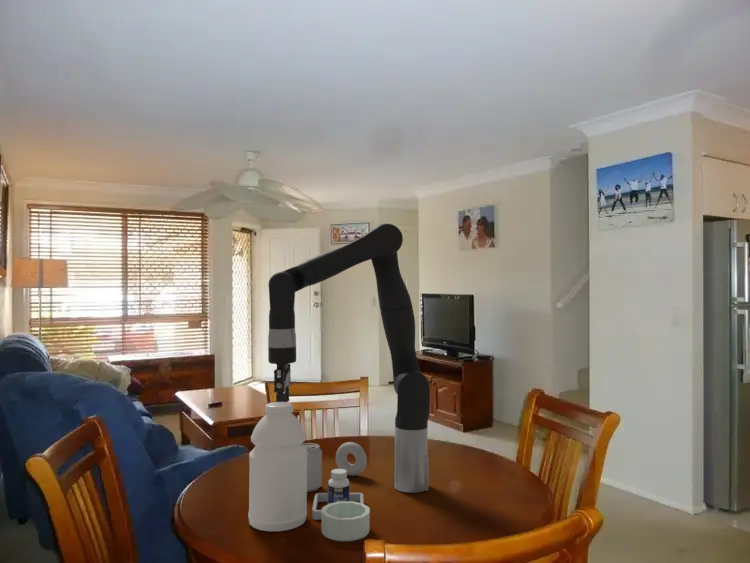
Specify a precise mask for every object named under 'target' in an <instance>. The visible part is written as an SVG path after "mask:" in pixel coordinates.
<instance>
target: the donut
mask: <svg viewBox="0 0 750 563" xmlns="http://www.w3.org/2000/svg"><path fill="white" fill-rule="evenodd" d="M335 453H336V454H335V463H336V465H337V469H344V470H346V471H347V476H352V477H353V476H357V475H360V474H362V472H364V470H365V468H366V466H367V462H368V461H367V459H368V458H367V454H366V451H365V450H364V448H363V447H362V446H361V445H360V444H358V443H357V442H353V441H350V442H349V441H347V442H344V443H342V444H341V445H340V446H339V447H338V449H337V451H336V452H335ZM349 454H351V455H353V456H354V458H355V461H354V463H350V462H349V461H348V458H347V456H348V455H349Z"/></svg>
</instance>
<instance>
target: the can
mask: <svg viewBox="0 0 750 563" xmlns="http://www.w3.org/2000/svg"><path fill="white" fill-rule="evenodd" d="M302 446H303V447H304V448H305V449H306V450H307V452H308V457H307V493H309V492H310V493H311V492H314V491H317V490H319V488H320V487H322V478H323V477H322V473H323V472H322V471H323V470H322V469H323V468H322V466H323V465H322V463H323V460H322V458H323V451H322V449H321V448H320V445H319V444H317V443H314V442H306V443H305V442H303V443H302Z"/></svg>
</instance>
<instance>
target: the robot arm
mask: <svg viewBox="0 0 750 563" xmlns="http://www.w3.org/2000/svg"><path fill="white" fill-rule="evenodd" d="M403 240H404V236H403V233H402V231H401V230H400V229H399V227H398V226H396V225H394V224H391V223H381V224H378V225H376V226H374V227H373V228H372V229H371V230H370V231H369V232H368V233H366V234H365V235H363V236H362V237H359V238H358V239H356V240H353V241H351V242H350V243H347V244H344V245H342V246H340V247H337V248H334V249H332V250H328V251H326V252H323V253H321V254H318V255H316V256H314V257H311V258H309V259H307V260H305V261H302V262H301V263H299V264H298V265H295V266H292V267H290V268H287V269H284V270H282V271H278V272H275V273H274V274H273V275H272V276H270V278H269V280H268V296H269V297H268V298H269V312H268V313H269V314H268V328H269V329H268V338H267V343H268V344H267V349H268V350H267V351H268V353H267V354H268V355H267V356H268V358H267V359H268V363H269V364H271V365H273V364H274V365H276V369H274V371H273V373H274V375H273V379H274V380H273V392H274V393H275V402H289V401H290V387H291V383H292V381H291V377H292V376H291V373H292V371H291V370H292V369H291V364H293V363H294V364H295V363H296V362H297V333H296V314H295V300H296V299H295V298H296V293H297V292H299V291H301V290H303V289H305V288H306V287H307V288H308V287H310V286H314V285H316V284H317V285H318V283H321V282H323V281H326V280H328V279H330V278H333V277H334V276H336V275H339V274H341V273H342V272H344V271H346V270H348V269H351V268H353V267H354V266H357V265H359V264H361V263H364V262H366V261H370V260H371V263H372V268H373V270H374V275H375V280H376V291H377V296H378V304H379V311H380V316H381V321H382V326H383V331H384V334H385V339H386V341H387V344H388V349H389V353H390V358H391V365H392V366H391V367H392V378H393V380H392V382H393V388H394V392H395V393H396V395H397V396H396V397H397V400H396V401H397V402H396V403H397V406H396V415H395V416H394V489H395V490H396V491H399V492H402V493H408V494H409V493H410V494H411V493H412V494H415V493H421V492H428V491H429V458H430V457H429V455H428V433H429V432H428V427H429V426H428V425H429V418H430V413H431V412H430V408H431V386H430V382H429V379H428V378H427V377H426V375H424V373H422V371H421V368H420V364H419V362H418V357H417V354H416V319H415V313H414V308H413V302H412V299H411V295H410V293H409V289H408V288H407V286H406V284H405V281H404V279H403V276H402V273H401V270H400V266H399V256H398V252H399V250H400V249H401V247H402V244H403Z"/></svg>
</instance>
